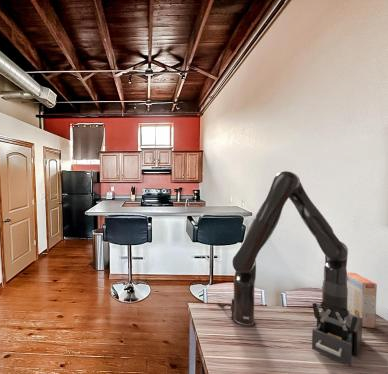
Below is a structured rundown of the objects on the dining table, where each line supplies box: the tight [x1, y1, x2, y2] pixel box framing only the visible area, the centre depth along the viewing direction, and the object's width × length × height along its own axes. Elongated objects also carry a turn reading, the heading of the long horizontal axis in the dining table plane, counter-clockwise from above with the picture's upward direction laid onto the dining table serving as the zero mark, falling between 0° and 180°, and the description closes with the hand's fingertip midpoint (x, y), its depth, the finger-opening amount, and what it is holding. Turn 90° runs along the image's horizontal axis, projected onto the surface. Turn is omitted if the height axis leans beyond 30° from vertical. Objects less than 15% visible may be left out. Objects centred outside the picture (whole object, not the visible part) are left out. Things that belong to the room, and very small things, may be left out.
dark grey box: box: [316, 309, 363, 357], centre depth 99 cm, size 15×13×10 cm
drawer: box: [311, 323, 354, 367], centre depth 90 cm, size 18×11×8 cm, turn 130°
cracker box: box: [347, 272, 378, 329], centre depth 114 cm, size 14×6×21 cm, turn 168°
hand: (333, 334), depth 91 cm, fingers open, 5 cm apart
